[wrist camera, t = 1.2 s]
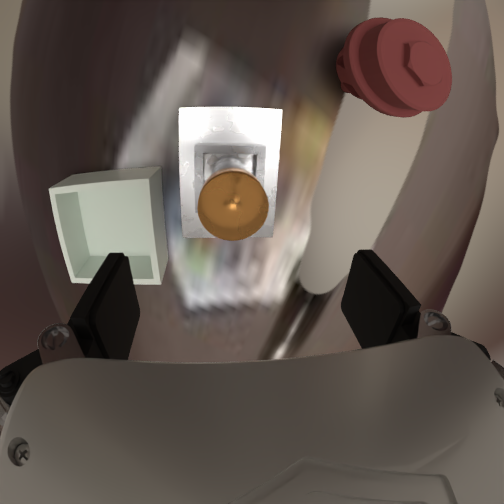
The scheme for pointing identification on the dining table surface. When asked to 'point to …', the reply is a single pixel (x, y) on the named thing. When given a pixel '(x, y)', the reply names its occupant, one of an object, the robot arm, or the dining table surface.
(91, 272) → the bin
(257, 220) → the copper-capped metal peg
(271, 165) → the white base with recess
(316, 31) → the dining table surface
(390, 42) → the mechanical component
